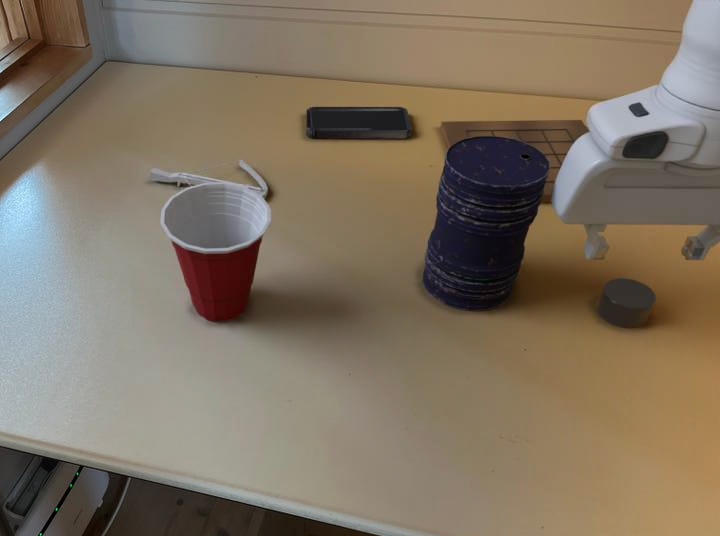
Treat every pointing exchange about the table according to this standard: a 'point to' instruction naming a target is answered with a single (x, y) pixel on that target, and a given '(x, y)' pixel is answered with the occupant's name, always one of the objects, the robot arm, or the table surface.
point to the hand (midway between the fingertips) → (641, 256)
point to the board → (524, 138)
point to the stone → (625, 302)
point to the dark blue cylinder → (483, 220)
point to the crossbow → (206, 178)
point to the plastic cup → (217, 244)
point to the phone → (357, 122)
